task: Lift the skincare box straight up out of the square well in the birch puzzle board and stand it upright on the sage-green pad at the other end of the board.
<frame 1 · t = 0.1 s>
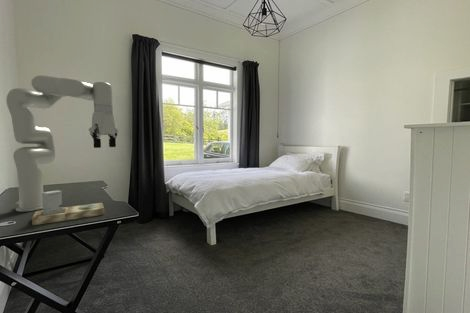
hand: (105, 147, 112), 31 cm above the table, tool pointing down, fingers open, 9 cm apart
puzzle board: (71, 216, 111), on the table
skincare box: (53, 219, 107), resting in puzzle board
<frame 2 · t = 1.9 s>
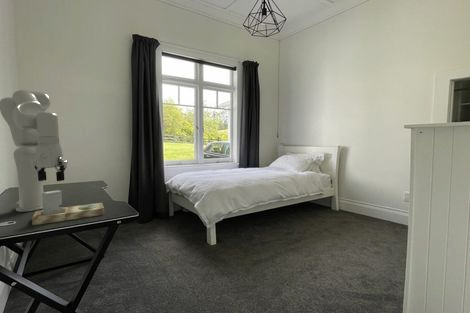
hand: (51, 180, 106), 17 cm above the table, tool pointing down, fingers open, 9 cm apart
nothing on the table moved.
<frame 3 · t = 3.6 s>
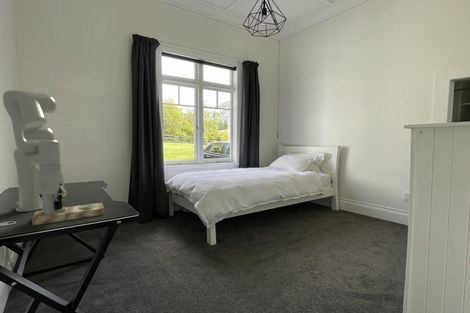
hand: (52, 208, 107), 4 cm above the table, tool pointing down, fingers closed on skincare box, 5 cm apart
skincare box: (53, 219, 107), resting in puzzle board, touching gripper
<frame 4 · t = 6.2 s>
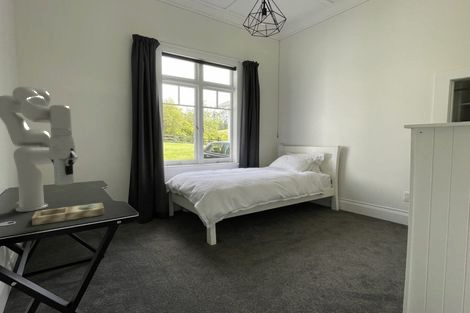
hand: (64, 173, 108), 20 cm above the table, tool pointing down, fingers closed on skincare box, 5 cm apart
skincare box: (64, 184, 108), point 15 cm above the table, touching gripper
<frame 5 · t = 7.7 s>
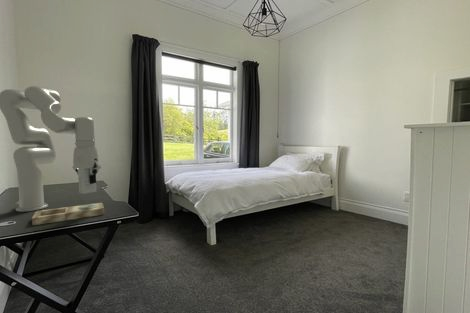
hand: (87, 182, 113), 15 cm above the table, tool pointing down, fingers closed on skincare box, 5 cm apart
skincare box: (88, 192, 114), point 10 cm above the table, touching gripper
when the fingers open (9 cm above the table, at t = 9.0 s): skincare box drops 2 cm, resting on puzzle board.
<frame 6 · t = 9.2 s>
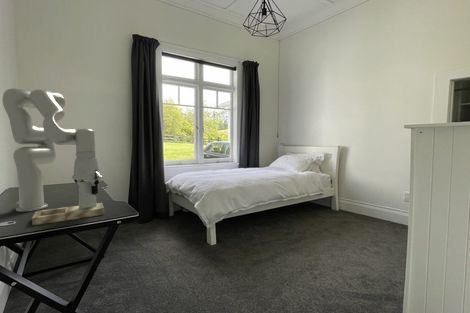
hand: (88, 193, 114), 10 cm above the table, tool pointing down, fingers open, 6 cm apart
skincare box: (88, 207, 114), point 3 cm above the table, touching puzzle board
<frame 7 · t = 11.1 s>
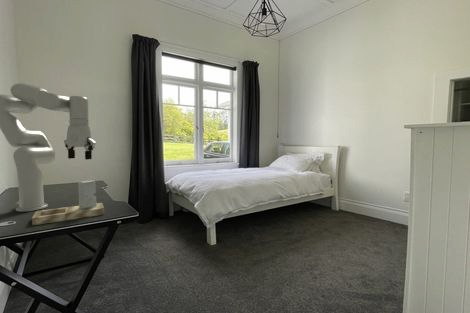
hand: (79, 158, 116), 26 cm above the table, tool pointing down, fingers open, 9 cm apart
nothing on the table moved.
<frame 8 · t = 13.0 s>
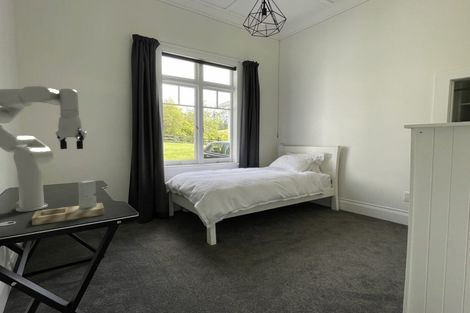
hand: (71, 149, 121), 30 cm above the table, tool pointing down, fingers open, 9 cm apart
nothing on the table moved.
at the end: skincare box 0.4 cm from the target spot on the puzzle board, point 3.0 cm above the puzzle board's base; skincare box tilted 0°; the gripper is holding nothing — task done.
